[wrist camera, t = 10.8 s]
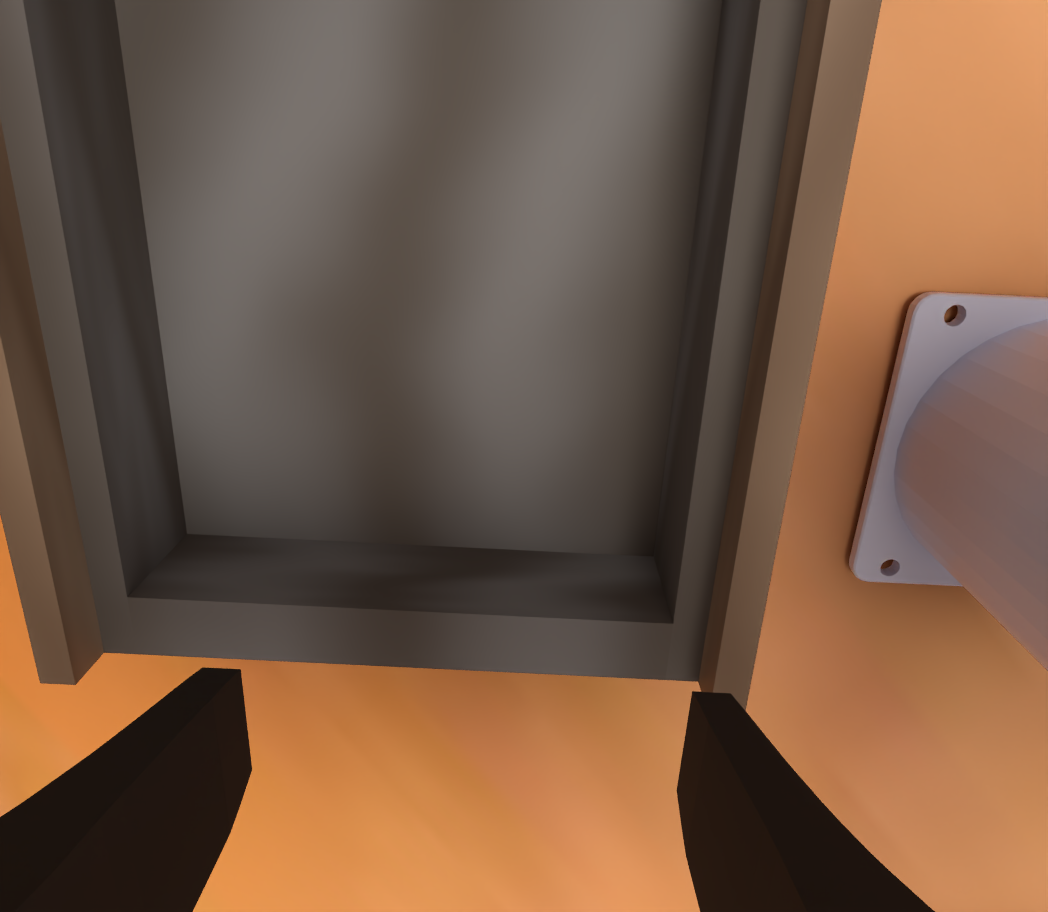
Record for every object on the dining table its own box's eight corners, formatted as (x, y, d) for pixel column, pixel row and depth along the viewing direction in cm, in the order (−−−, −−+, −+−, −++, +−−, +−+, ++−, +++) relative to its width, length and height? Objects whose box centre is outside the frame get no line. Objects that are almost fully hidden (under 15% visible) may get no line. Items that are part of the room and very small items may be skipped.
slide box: (814, -169, 15) (943, -323, 10) (698, 594, 22) (744, 717, 17) (28, -207, 15) (-211, -380, 10) (150, 567, 22) (40, 682, 17)
